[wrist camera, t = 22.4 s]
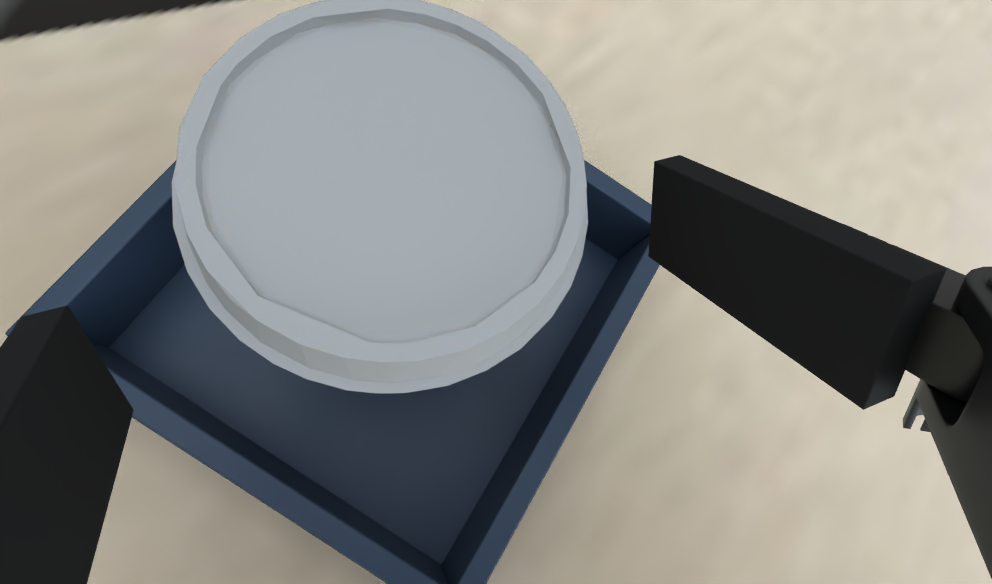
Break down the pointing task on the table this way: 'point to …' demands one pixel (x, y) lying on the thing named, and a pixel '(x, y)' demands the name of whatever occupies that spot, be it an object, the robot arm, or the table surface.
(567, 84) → the table surface
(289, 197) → the disposable coffee cup
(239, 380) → the bin
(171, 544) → the table surface
